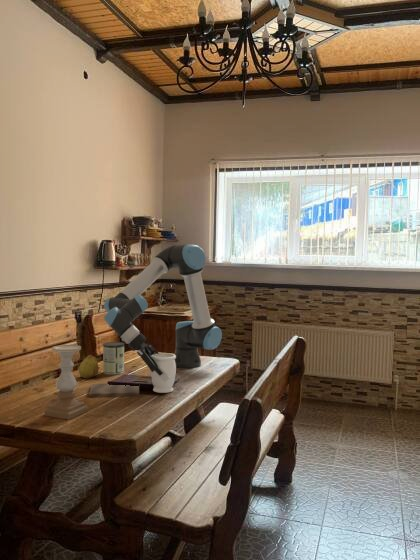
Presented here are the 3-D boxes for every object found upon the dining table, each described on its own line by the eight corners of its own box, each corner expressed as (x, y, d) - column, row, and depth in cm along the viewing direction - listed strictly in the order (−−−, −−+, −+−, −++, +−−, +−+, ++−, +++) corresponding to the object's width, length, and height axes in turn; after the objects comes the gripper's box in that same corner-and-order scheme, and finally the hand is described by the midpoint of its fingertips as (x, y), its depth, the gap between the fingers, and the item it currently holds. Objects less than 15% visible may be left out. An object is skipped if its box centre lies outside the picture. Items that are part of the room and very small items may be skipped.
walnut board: (138, 385, 216) (138, 382, 216) (139, 395, 200) (139, 392, 200) (92, 386, 213) (92, 383, 213) (88, 396, 197) (88, 394, 197)
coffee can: (106, 369, 245) (106, 341, 245) (126, 370, 244) (126, 342, 244) (99, 374, 235) (100, 345, 235) (121, 375, 234) (121, 345, 234)
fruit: (74, 378, 227) (74, 352, 226) (87, 374, 235) (87, 349, 235) (89, 380, 223) (89, 354, 223) (102, 376, 232) (102, 350, 231)
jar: (179, 388, 211) (179, 354, 210) (169, 395, 201) (170, 358, 200) (156, 386, 214) (157, 352, 214) (146, 392, 204) (146, 356, 204)
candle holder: (64, 407, 184) (64, 343, 183) (88, 411, 179) (88, 345, 178) (43, 415, 174) (43, 348, 172) (68, 420, 169) (69, 351, 168)
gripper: (134, 340, 220) (169, 376, 219) (119, 349, 197) (158, 389, 196) (146, 328, 219) (181, 364, 218) (132, 336, 196) (171, 377, 195)
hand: (170, 376), depth 207 cm, fingers closed on jar, 10 cm apart
